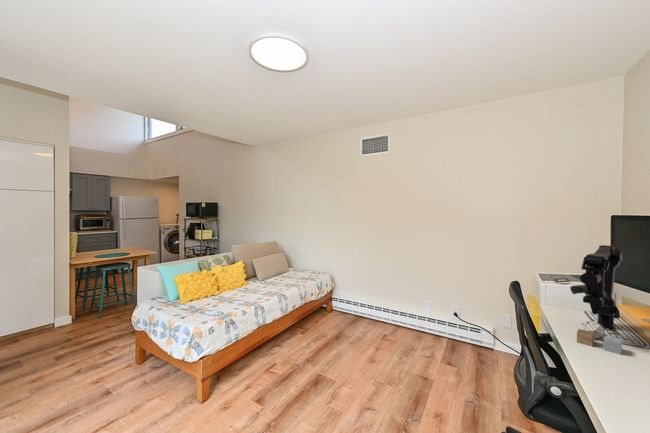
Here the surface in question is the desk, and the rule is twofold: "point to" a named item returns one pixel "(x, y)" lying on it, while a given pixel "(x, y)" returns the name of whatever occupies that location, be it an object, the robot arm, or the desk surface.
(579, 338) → the walnut block
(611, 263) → the robot arm
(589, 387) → the desk surface
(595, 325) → the game die
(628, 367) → the desk surface
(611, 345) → the slate block
